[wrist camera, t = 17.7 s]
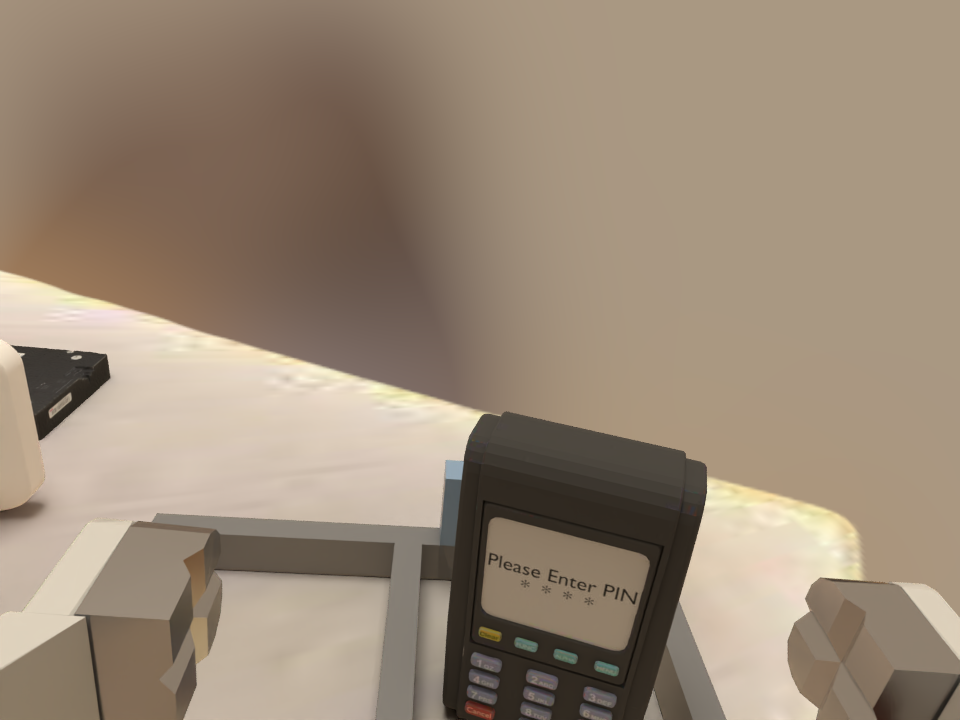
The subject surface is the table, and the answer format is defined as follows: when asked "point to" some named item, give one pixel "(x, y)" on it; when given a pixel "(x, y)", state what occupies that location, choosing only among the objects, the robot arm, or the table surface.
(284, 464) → the table surface
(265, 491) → the table surface
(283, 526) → the comb rack
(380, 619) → the table surface
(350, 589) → the table surface
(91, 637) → the robot arm
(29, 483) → the cable organizer
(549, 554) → the card reader
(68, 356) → the disk drive
